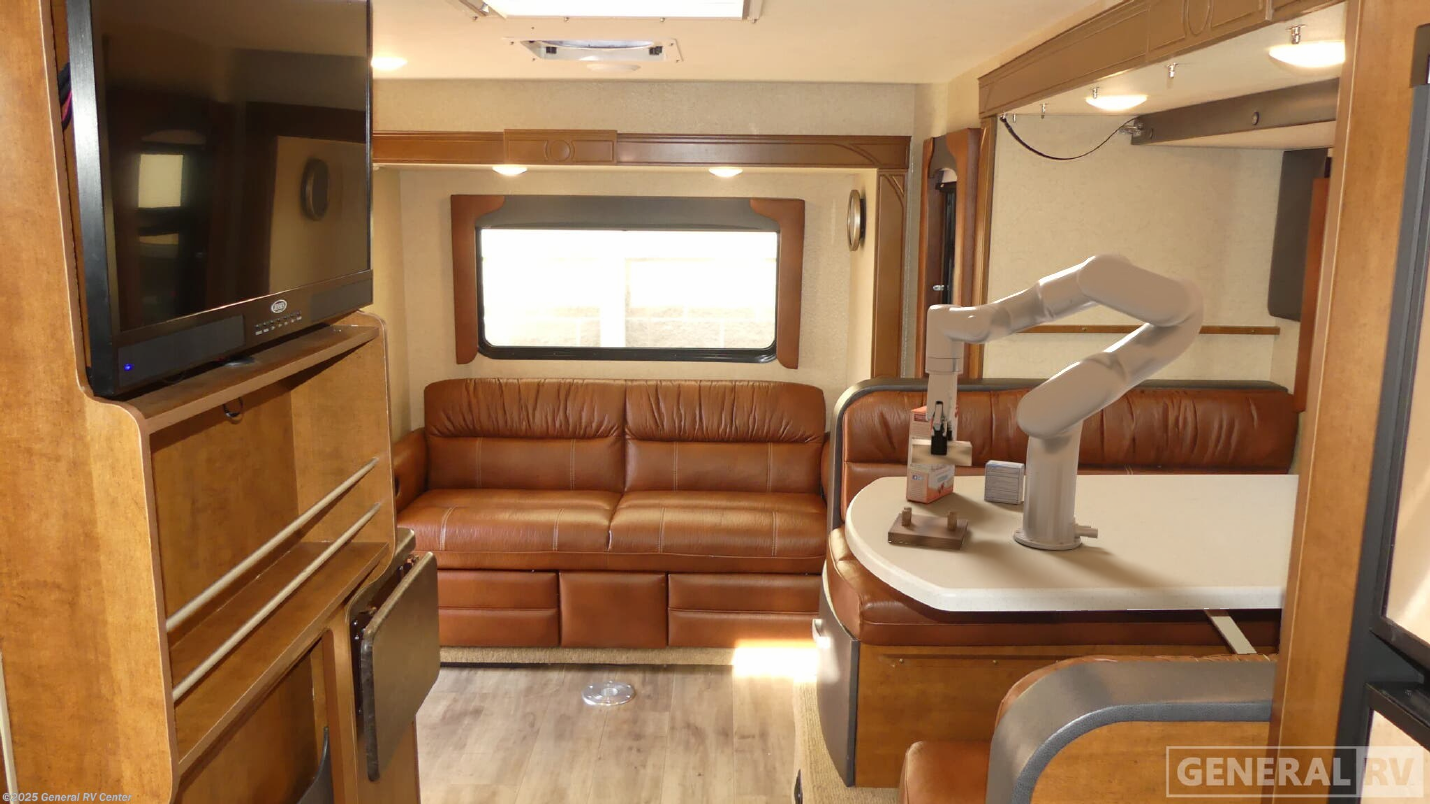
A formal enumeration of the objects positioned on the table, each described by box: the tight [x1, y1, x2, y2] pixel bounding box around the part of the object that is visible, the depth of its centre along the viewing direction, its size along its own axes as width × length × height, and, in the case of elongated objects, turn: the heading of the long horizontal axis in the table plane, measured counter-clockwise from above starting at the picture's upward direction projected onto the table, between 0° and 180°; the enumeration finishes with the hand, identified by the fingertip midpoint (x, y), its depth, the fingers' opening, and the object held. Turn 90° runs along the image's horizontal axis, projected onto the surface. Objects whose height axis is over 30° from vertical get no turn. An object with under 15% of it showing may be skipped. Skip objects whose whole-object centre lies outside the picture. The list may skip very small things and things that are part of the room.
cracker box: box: [905, 404, 960, 504], centre depth 231 cm, size 14×6×21 cm, turn 143°
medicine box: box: [983, 460, 1025, 505], centre depth 229 cm, size 8×4×9 cm, turn 63°
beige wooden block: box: [910, 439, 973, 467], centre depth 210 cm, size 12×5×4 cm, turn 82°
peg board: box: [887, 506, 969, 550], centre depth 203 cm, size 14×14×5 cm
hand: (941, 450), depth 210 cm, fingers closed on beige wooden block, 5 cm apart
